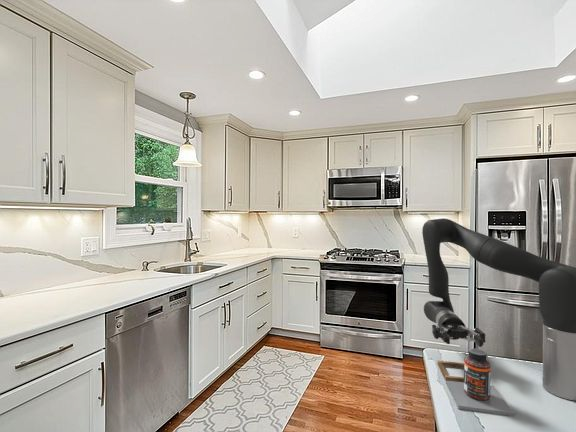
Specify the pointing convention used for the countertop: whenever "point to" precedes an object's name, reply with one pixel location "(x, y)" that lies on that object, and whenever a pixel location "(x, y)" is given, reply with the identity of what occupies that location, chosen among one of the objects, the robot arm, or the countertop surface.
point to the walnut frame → (450, 364)
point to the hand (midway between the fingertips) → (464, 342)
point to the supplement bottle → (477, 375)
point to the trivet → (489, 406)
